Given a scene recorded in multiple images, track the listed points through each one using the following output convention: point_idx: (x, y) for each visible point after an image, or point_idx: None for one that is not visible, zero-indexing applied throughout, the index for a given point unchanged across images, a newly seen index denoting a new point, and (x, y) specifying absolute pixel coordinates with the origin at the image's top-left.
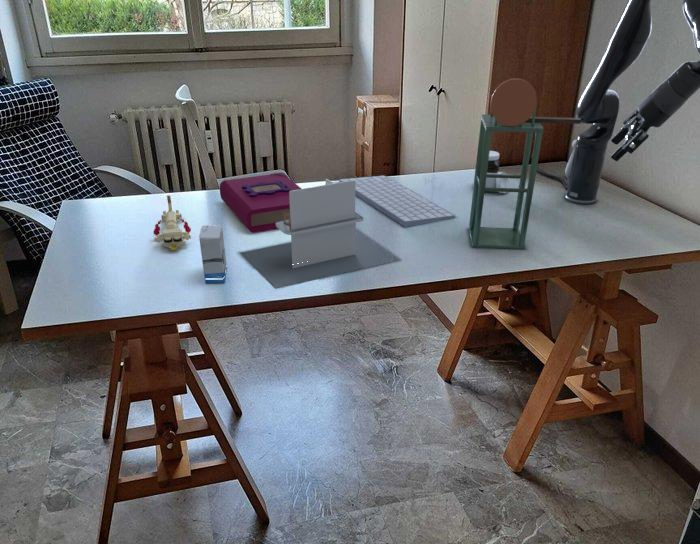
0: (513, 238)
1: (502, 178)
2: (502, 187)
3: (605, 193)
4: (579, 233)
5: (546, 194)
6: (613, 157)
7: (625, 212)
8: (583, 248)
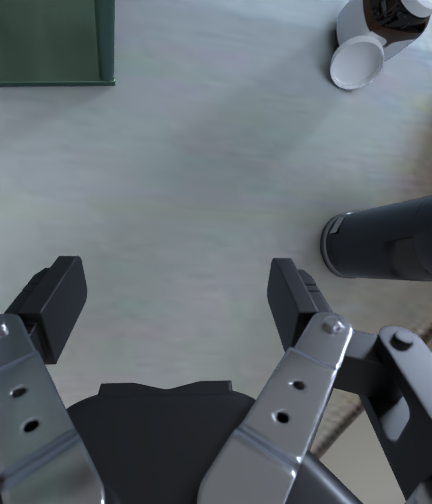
0: (35, 60)
1: (372, 62)
2: (350, 74)
3: (393, 299)
4: (141, 234)
5: (356, 175)
6: (44, 270)
7: None
8: (38, 238)
